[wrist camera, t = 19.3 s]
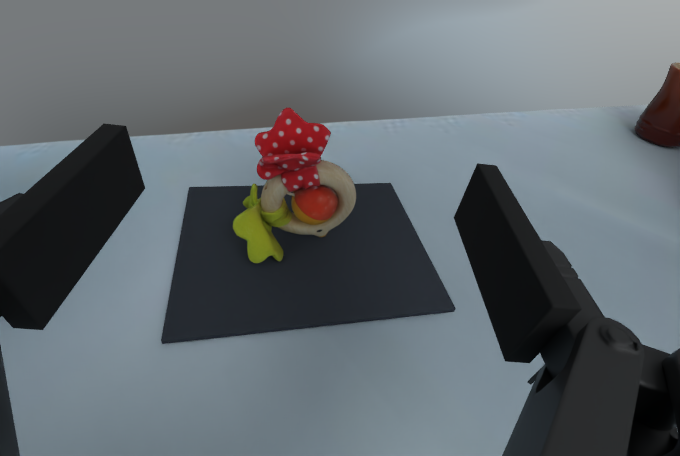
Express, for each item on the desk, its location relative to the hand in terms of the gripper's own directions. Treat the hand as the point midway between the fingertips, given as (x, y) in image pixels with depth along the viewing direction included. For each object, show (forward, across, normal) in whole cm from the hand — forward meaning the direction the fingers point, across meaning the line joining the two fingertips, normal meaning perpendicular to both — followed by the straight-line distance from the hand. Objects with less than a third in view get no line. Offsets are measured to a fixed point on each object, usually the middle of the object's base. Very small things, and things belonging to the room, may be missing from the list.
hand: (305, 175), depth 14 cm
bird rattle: (+10, -1, -13) cm, 16 cm away
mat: (+10, 0, -13) cm, 16 cm away
